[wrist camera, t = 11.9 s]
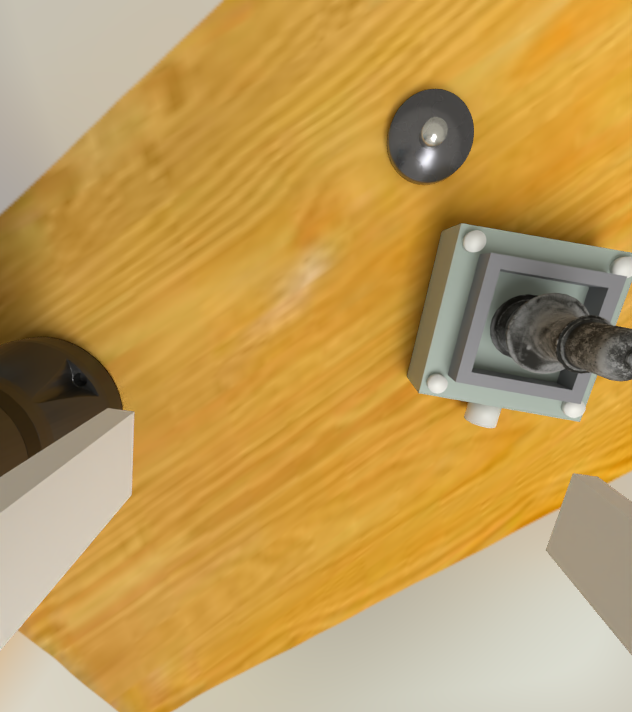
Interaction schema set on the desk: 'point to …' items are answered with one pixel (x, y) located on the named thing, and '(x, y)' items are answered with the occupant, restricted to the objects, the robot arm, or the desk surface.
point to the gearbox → (482, 299)
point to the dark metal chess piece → (561, 337)
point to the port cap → (430, 136)
